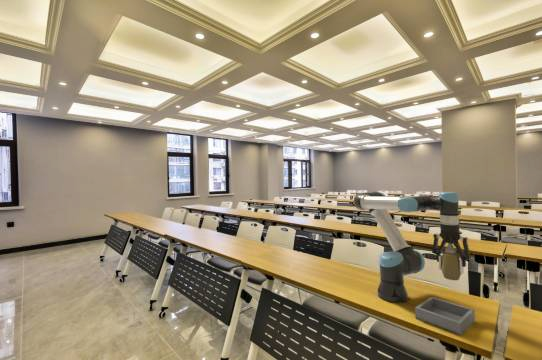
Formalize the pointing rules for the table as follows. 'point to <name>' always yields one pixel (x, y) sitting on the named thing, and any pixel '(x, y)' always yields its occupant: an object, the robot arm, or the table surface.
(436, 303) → the bin
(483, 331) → the table surface
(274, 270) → the table surface
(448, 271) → the squeeze bottle
